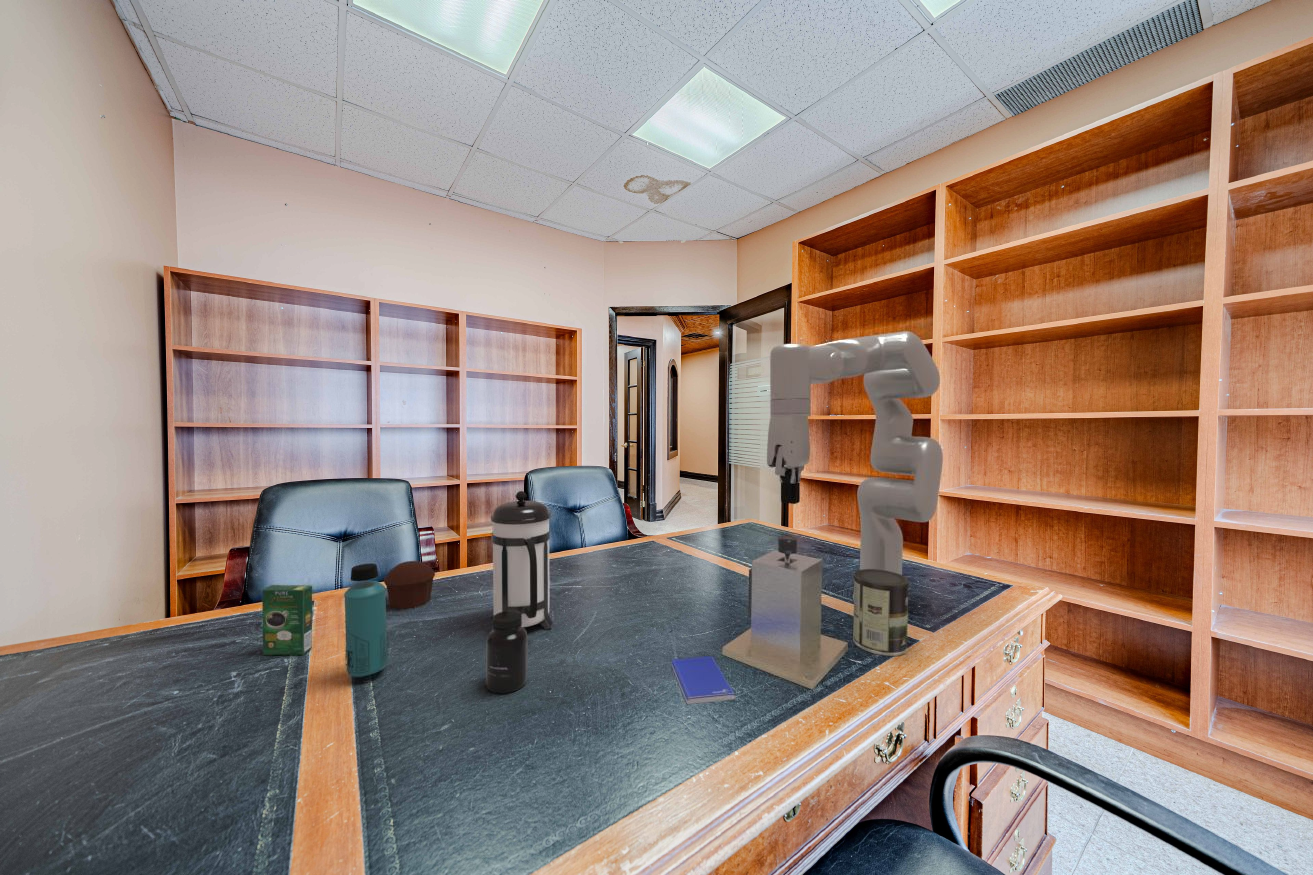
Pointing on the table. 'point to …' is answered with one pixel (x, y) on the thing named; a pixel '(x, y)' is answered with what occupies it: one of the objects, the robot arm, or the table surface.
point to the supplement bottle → (506, 653)
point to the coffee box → (287, 619)
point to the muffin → (409, 584)
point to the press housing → (786, 621)
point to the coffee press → (521, 560)
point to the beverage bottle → (365, 623)
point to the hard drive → (701, 680)
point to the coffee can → (880, 612)
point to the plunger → (787, 546)
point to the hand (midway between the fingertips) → (790, 502)
